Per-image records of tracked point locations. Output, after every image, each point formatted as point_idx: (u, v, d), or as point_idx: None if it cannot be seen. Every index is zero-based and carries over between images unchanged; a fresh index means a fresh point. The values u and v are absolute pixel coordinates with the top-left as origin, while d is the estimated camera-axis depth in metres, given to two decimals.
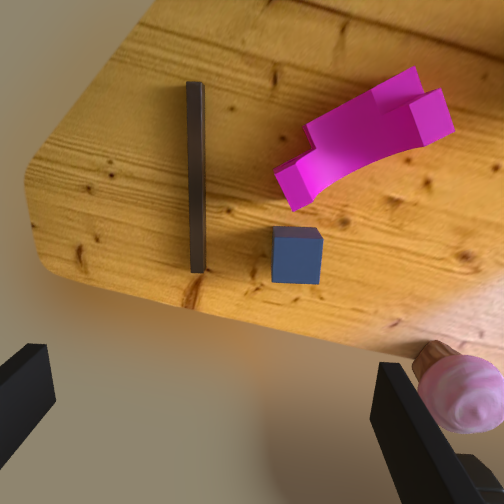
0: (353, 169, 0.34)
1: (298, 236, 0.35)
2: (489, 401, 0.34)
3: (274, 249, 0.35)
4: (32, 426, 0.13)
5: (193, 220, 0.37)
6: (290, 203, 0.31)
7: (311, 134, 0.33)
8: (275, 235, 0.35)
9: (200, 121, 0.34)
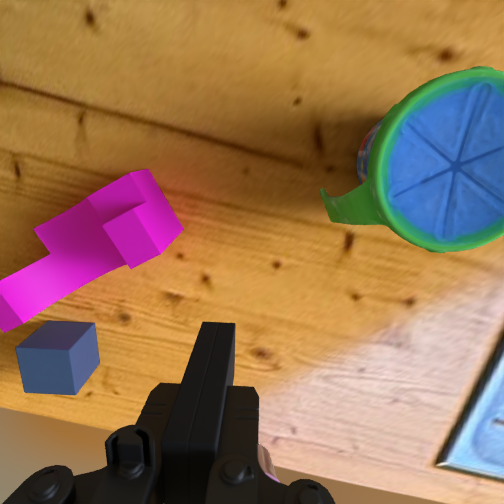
0: (101, 273, 0.31)
1: (46, 345, 0.31)
2: None
3: (18, 360, 0.31)
4: None
5: None
6: None
7: (42, 238, 0.29)
8: (21, 343, 0.31)
9: None
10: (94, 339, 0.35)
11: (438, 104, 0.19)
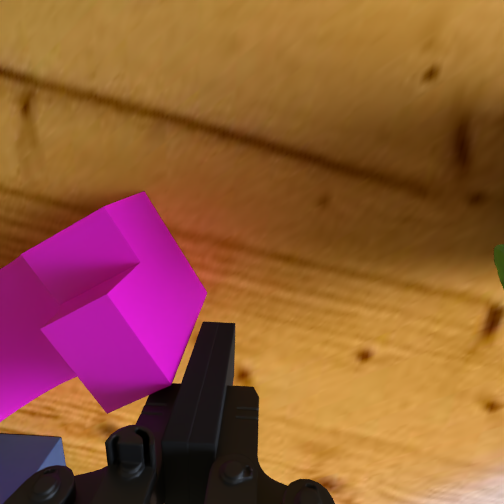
0: (63, 378, 0.17)
1: None
2: None
3: None
4: None
5: None
6: None
7: None
8: None
9: None
10: (60, 464, 0.22)
11: None
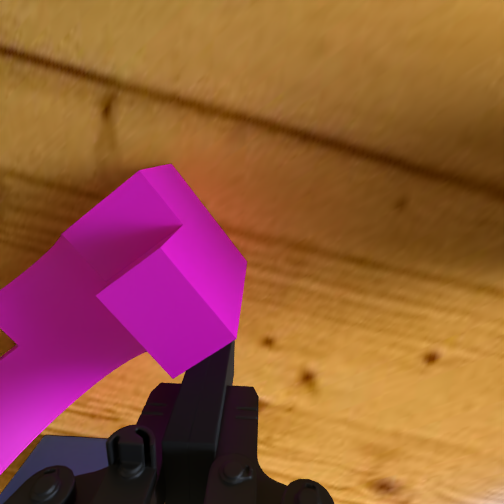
0: (115, 364, 0.17)
1: None
2: None
3: None
4: None
5: None
6: None
7: None
8: None
9: None
10: None
11: None
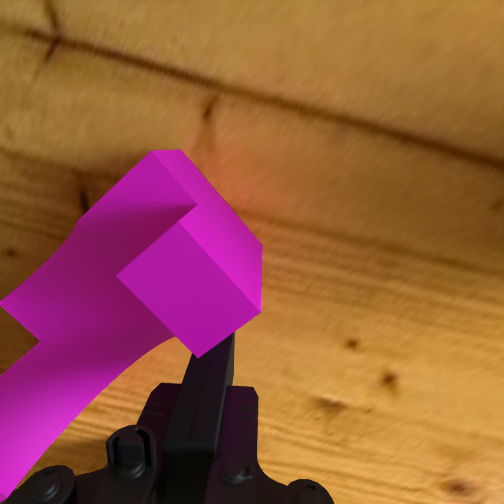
0: (136, 356, 0.17)
1: None
2: None
3: None
4: None
5: None
6: None
7: (19, 317, 0.16)
8: None
9: None
10: None
11: None
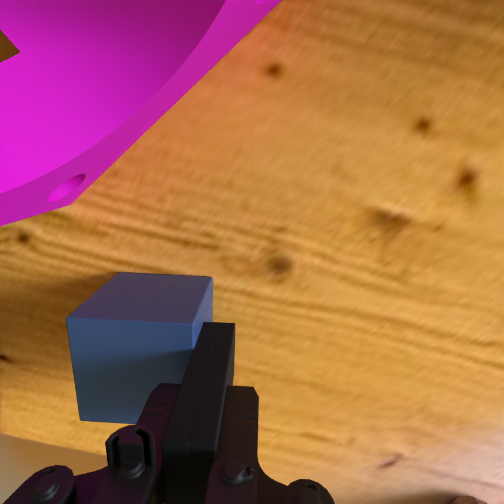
0: (151, 90, 0.12)
1: (135, 313, 0.14)
2: None
3: (71, 347, 0.13)
4: None
5: None
6: None
7: None
8: (77, 310, 0.14)
9: None
10: (211, 310, 0.18)
11: None
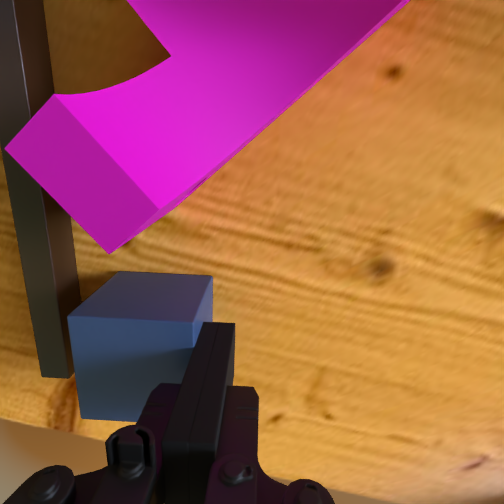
0: (292, 93, 0.12)
1: (136, 311, 0.14)
2: None
3: (72, 345, 0.14)
4: None
5: (30, 267, 0.16)
6: (91, 230, 0.09)
7: (145, 17, 0.11)
8: (78, 308, 0.14)
9: (11, 12, 0.13)
10: (211, 308, 0.18)
11: None
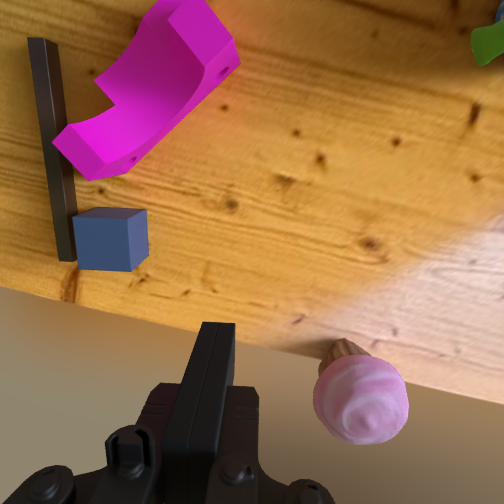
0: (168, 119, 0.29)
1: (103, 216, 0.31)
2: (379, 407, 0.29)
3: (74, 231, 0.30)
4: None
5: (54, 201, 0.33)
6: (81, 171, 0.26)
7: (104, 90, 0.28)
8: (77, 215, 0.31)
9: (48, 84, 0.30)
10: (145, 226, 0.35)
11: None
